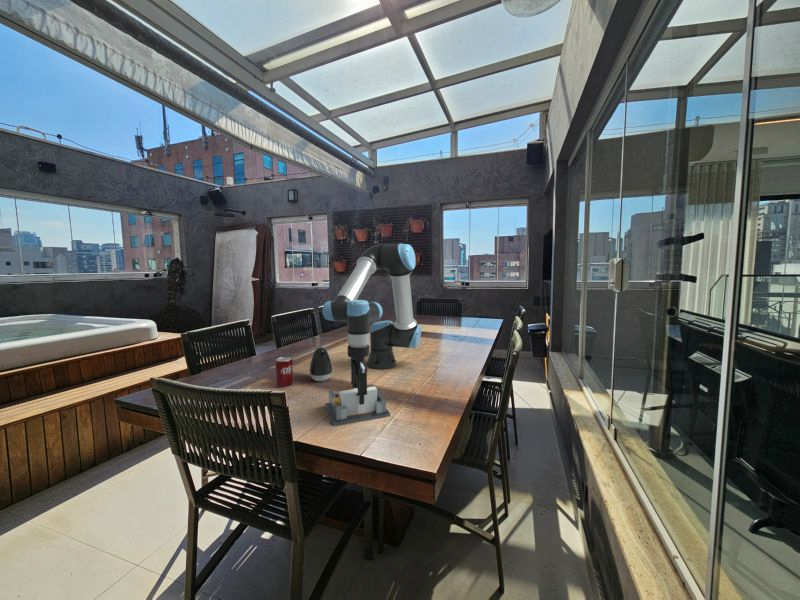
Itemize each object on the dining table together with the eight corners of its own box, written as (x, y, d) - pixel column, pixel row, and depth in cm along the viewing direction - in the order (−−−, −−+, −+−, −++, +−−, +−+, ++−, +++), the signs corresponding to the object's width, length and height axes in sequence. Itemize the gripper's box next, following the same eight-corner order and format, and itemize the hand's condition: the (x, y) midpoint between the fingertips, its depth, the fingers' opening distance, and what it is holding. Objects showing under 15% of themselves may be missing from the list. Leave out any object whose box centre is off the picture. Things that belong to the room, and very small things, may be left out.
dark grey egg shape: (316, 385, 148) (315, 351, 146) (305, 379, 156) (305, 347, 154) (336, 380, 155) (336, 347, 153) (325, 374, 162) (324, 343, 161)
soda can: (272, 386, 146) (271, 359, 145) (285, 381, 152) (284, 355, 151) (284, 389, 142) (283, 362, 141) (297, 384, 149) (296, 358, 148)
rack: (375, 398, 134) (375, 381, 133) (390, 416, 118) (390, 397, 118) (325, 405, 127) (324, 387, 126) (333, 426, 111) (333, 405, 110)
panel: (374, 407, 123) (374, 386, 122) (377, 410, 120) (377, 389, 119) (339, 413, 118) (339, 391, 117) (341, 416, 115) (340, 394, 114)
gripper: (342, 340, 123) (343, 400, 126) (354, 352, 107) (354, 421, 109) (361, 338, 126) (362, 397, 129) (376, 350, 110) (376, 418, 112)
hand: (359, 408), depth 119 cm, fingers open, 5 cm apart
